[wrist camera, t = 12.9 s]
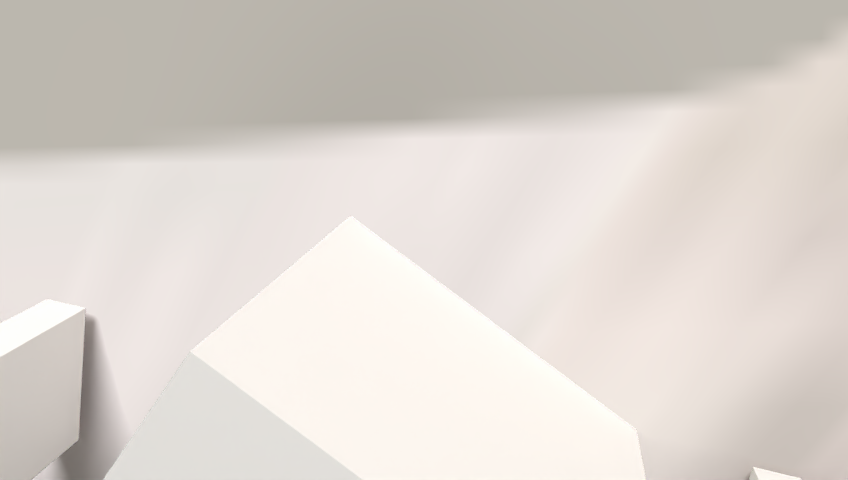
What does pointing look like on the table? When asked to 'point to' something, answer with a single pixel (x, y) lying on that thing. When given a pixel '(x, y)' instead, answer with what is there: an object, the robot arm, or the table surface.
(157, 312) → the table surface
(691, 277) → the table surface
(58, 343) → the robot arm
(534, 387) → the light grey cube
